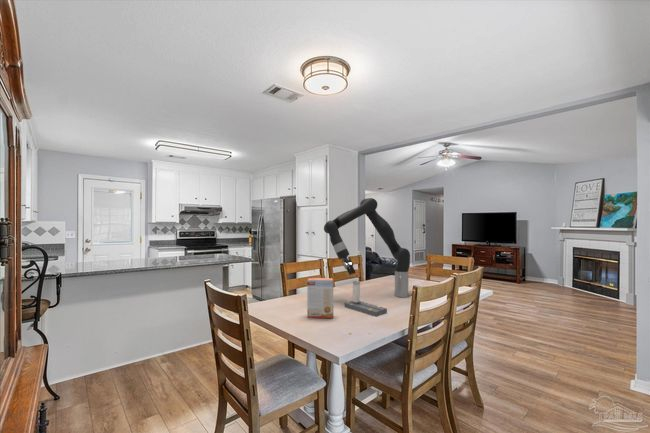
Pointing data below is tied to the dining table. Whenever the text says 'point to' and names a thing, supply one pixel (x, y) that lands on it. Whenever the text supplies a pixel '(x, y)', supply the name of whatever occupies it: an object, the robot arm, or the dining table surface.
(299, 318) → the dining table surface
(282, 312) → the dining table surface
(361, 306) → the fader console
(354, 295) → the fader tab
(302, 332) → the dining table surface
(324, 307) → the cracker box
